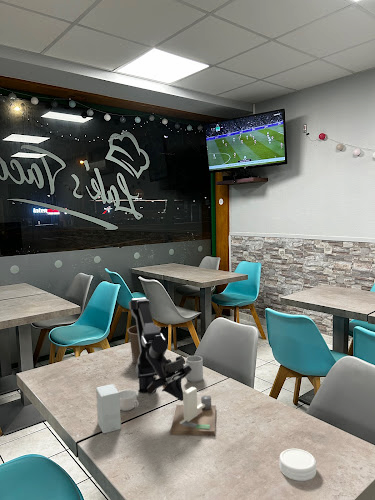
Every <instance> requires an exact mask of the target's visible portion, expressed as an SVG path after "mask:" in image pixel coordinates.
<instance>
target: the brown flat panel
mask: <svg viewBox="0 0 375 500" xmlns="http://www.w3.org/2000/svg"><path fill="white" fill-rule="evenodd" d="M198 405H199V404H197V406H198ZM216 412H217V407H216V404H215V405H212V404H211V409H209V410H204V409H201V410H199V411H198V412H197V416H196V417H195V418H193V419H192V420H190V421H189V422H188V421H185V422H184V423H182V424H180V422H181V421H182V420H184V409H183V404H176V405H175V410H174V414H173V418H172V423H171V427H170V435H171V436H173V435H174V436H206V437H207V436H209V437H210V436H213V437H216V415H217V414H216Z"/></svg>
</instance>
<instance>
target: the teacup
mask: <svg viewBox="0 0 375 500" xmlns="http://www.w3.org/2000/svg"><path fill="white" fill-rule="evenodd" d="M118 391H119V395H120V411H124V412H127V411H131V410H132V409H134V408H137V407H138V406H139V405H140V404H139V401H138V400H137V394H138V393H137V392H136V391H135V390H133V389H123V390H118Z"/></svg>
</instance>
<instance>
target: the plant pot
mask: <svg viewBox="0 0 375 500" xmlns="http://www.w3.org/2000/svg"><path fill="white" fill-rule="evenodd" d="M156 326H157V327H158V328H159V330H160V331H161V329H162V328H161V327H160V326H158V325H156ZM126 330H127V334H128V339H129V341H130V342H129V343H130V351H131V358H132V363H133V364H135V365H137V364H138V361H137V360H138V358H139V355H140V347H139V340H138V332H137V325H133V326H131V327H128V328H127V329H126Z"/></svg>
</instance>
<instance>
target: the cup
mask: <svg viewBox="0 0 375 500" xmlns="http://www.w3.org/2000/svg"><path fill="white" fill-rule="evenodd" d="M185 365H189V366H190V368H191V369H192V371H191V372H190V373H189V374H188V375H187V376H186V377H184V379H186V380H188V381H189V382H192V383H193V382H194V383H195V382H200V381H202V380H203V379H204V372H203V371H204V369H203V368H204V366H203V365H204V364H203V357H202V356H200V355H189V356H187V357H186V358H185Z"/></svg>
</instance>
